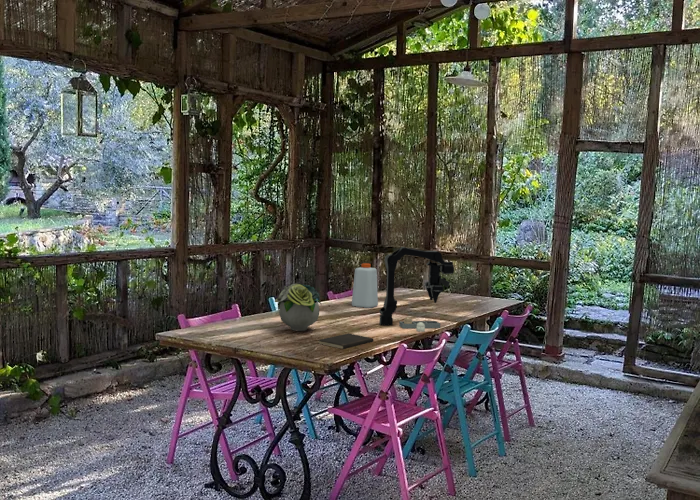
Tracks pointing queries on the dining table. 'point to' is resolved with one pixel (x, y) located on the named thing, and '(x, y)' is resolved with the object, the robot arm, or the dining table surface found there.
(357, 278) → the plastic bottle
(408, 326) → the grey long rectangular tray
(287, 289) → the flower arrangement
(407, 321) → the brown egg
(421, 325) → the cream egg
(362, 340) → the hardcover book
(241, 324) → the dining table surface
